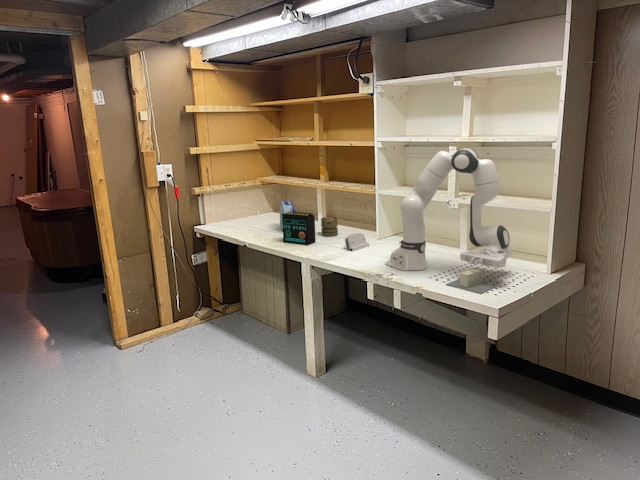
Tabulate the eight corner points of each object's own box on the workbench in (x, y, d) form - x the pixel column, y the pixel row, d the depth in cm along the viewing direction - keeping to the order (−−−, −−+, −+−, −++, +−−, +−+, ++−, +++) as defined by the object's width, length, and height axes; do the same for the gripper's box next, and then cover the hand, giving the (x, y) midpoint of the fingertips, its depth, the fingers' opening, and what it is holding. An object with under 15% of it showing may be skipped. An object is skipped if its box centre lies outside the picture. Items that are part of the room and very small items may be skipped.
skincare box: (475, 267, 225) (459, 272, 218) (483, 269, 222) (467, 274, 214) (474, 280, 226) (458, 285, 219) (482, 282, 223) (466, 287, 216)
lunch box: (297, 232, 344) (296, 203, 339) (282, 233, 342) (281, 204, 338) (293, 225, 369) (291, 198, 364) (279, 226, 367) (277, 199, 363)
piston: (336, 219, 324) (320, 219, 325) (337, 236, 326) (320, 237, 328) (337, 216, 335) (321, 216, 336) (338, 233, 337) (322, 233, 339)
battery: (315, 242, 313) (314, 212, 308) (307, 245, 305) (306, 214, 300) (291, 239, 323) (290, 210, 318) (283, 242, 315) (281, 212, 310)
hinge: (352, 251, 287) (348, 235, 287) (347, 252, 290) (342, 237, 290) (369, 245, 299) (365, 230, 299) (364, 247, 302) (359, 232, 302)
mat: (445, 285, 222) (445, 284, 222) (461, 278, 230) (461, 277, 230) (481, 294, 209) (481, 293, 209) (496, 287, 217) (496, 286, 217)
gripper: (469, 246, 233) (453, 251, 225) (509, 253, 218) (493, 259, 210) (469, 259, 235) (453, 264, 226) (508, 267, 220) (493, 273, 211)
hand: (473, 262), depth 218 cm, fingers closed
